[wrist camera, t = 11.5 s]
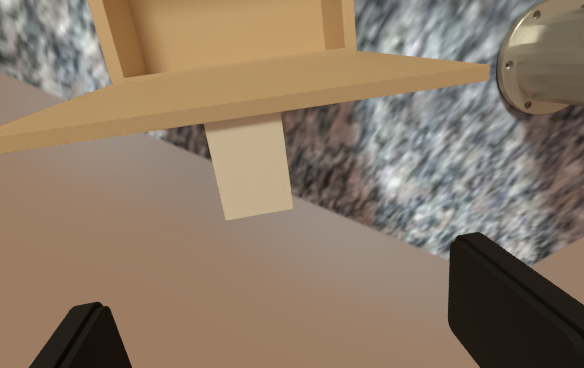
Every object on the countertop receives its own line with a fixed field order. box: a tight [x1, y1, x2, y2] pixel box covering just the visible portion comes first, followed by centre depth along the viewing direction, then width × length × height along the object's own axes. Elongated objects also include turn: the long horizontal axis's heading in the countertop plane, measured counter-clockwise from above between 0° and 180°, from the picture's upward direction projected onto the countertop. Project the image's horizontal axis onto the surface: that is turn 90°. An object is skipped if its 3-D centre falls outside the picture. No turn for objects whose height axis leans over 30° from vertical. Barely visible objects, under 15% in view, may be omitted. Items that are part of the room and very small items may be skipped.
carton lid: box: [0, 51, 490, 221], centre depth 21 cm, size 20×16×5 cm
